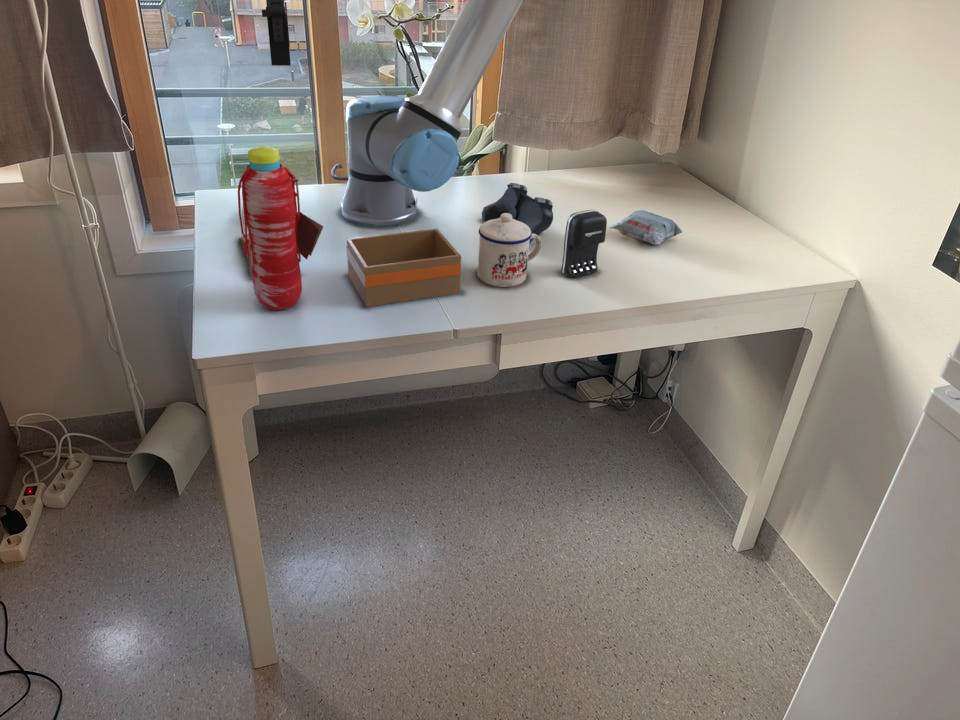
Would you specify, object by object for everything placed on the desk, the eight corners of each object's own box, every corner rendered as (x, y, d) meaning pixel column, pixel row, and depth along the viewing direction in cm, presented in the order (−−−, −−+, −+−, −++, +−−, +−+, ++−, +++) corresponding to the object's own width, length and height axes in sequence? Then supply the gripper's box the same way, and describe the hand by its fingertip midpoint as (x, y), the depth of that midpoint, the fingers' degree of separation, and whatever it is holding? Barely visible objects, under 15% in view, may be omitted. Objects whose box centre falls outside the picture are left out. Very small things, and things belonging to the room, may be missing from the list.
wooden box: (347, 276, 130) (345, 238, 126) (436, 264, 136) (437, 228, 132) (365, 307, 121) (364, 268, 117) (459, 293, 126) (461, 256, 123)
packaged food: (659, 254, 144) (664, 230, 142) (607, 235, 151) (611, 212, 148) (680, 242, 150) (686, 218, 147) (630, 225, 156) (634, 202, 154)
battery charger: (571, 281, 133) (579, 220, 126) (559, 272, 135) (566, 212, 129) (602, 274, 136) (611, 214, 130) (589, 265, 138) (598, 207, 132)
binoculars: (544, 256, 147) (569, 210, 144) (520, 247, 142) (545, 199, 140) (499, 226, 158) (521, 183, 156) (476, 217, 154) (498, 172, 151)
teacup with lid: (491, 292, 127) (495, 228, 121) (467, 270, 134) (470, 208, 128) (550, 280, 132) (558, 218, 126) (525, 259, 139) (530, 200, 133)
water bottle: (314, 282, 127) (303, 135, 113) (332, 303, 121) (322, 150, 108) (243, 297, 122) (222, 144, 108) (259, 319, 116) (239, 161, 102)
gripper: (242, -112, 113) (257, 39, 124) (234, -106, 92) (253, 73, 104) (293, -109, 114) (304, 40, 126) (296, -103, 94) (308, 73, 106)
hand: (281, 55), depth 115 cm, fingers open, 13 cm apart
